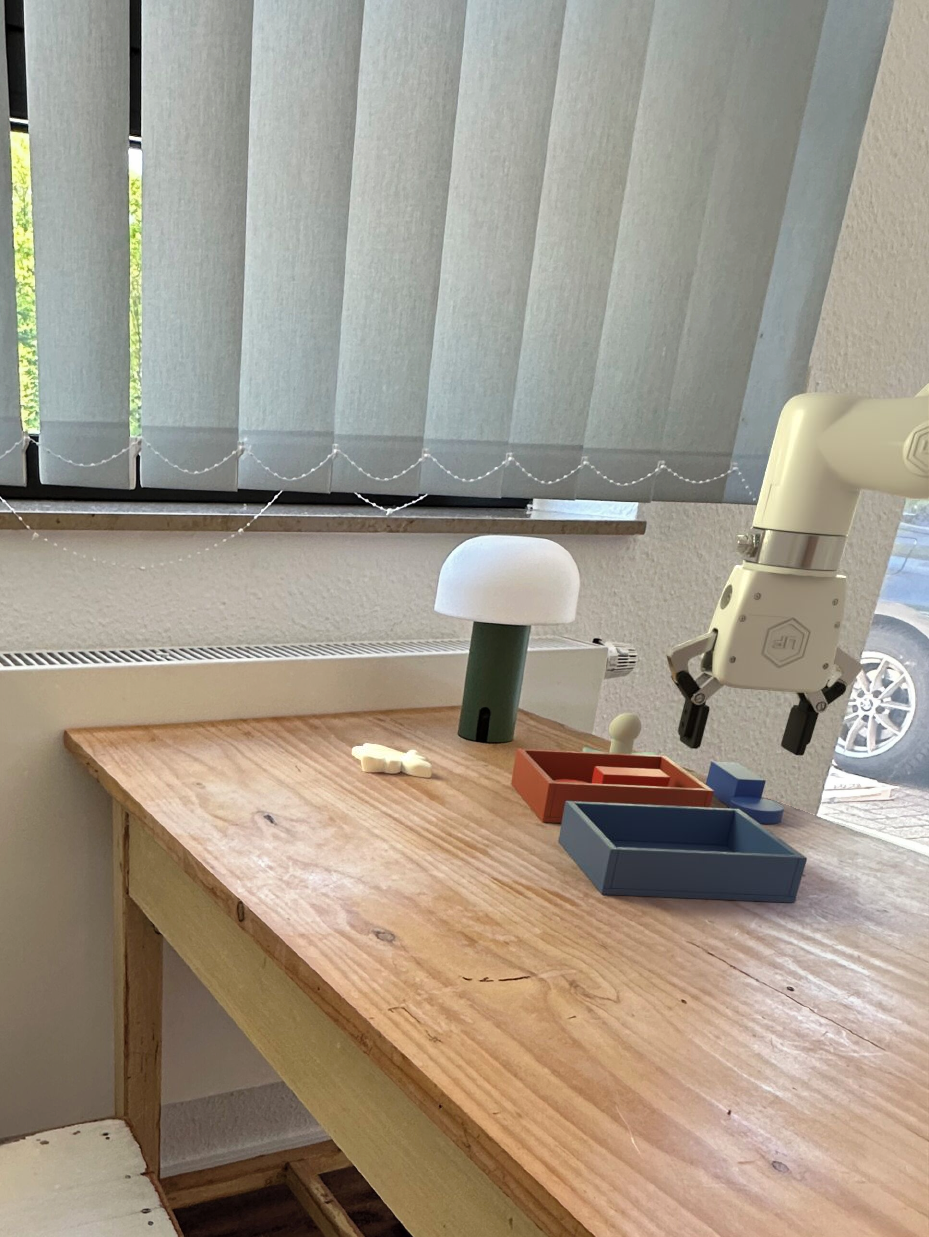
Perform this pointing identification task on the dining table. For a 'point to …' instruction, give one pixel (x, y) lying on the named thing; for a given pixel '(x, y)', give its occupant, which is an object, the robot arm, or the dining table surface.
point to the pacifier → (623, 734)
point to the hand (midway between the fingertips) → (740, 748)
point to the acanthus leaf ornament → (391, 760)
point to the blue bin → (679, 852)
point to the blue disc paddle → (743, 791)
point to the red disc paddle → (627, 777)
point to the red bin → (549, 797)
